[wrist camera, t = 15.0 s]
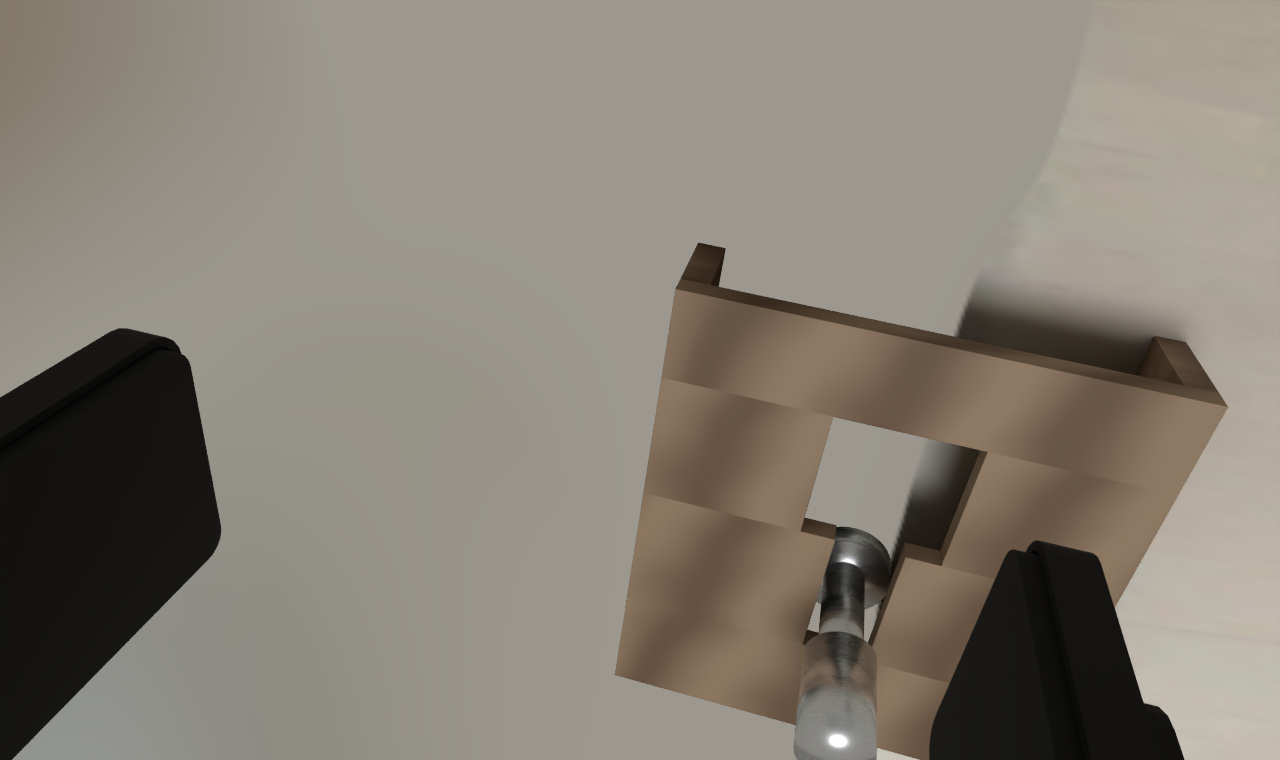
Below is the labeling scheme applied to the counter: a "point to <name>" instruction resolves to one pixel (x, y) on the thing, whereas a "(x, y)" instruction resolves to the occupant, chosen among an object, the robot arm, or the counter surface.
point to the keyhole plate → (800, 547)
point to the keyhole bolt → (843, 655)
